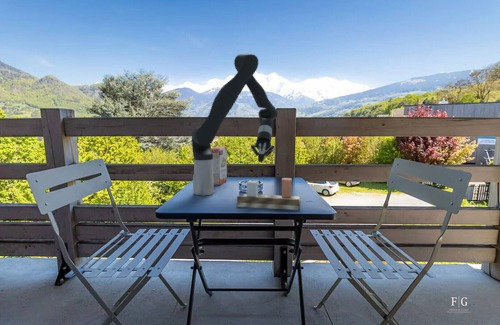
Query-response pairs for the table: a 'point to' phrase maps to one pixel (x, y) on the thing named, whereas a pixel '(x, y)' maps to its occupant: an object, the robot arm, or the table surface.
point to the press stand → (269, 202)
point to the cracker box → (219, 165)
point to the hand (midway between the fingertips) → (260, 161)
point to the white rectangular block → (252, 188)
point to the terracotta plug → (286, 187)
